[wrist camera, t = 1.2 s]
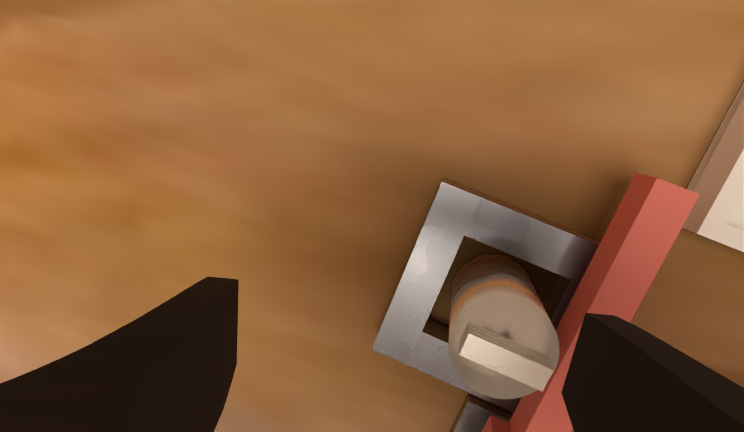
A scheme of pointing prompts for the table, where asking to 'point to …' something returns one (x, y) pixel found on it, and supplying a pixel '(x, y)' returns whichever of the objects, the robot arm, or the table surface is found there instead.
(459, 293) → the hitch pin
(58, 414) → the robot arm
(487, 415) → the keeper post
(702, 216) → the tray
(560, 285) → the grey flat square ring
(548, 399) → the bar
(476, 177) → the table surface
